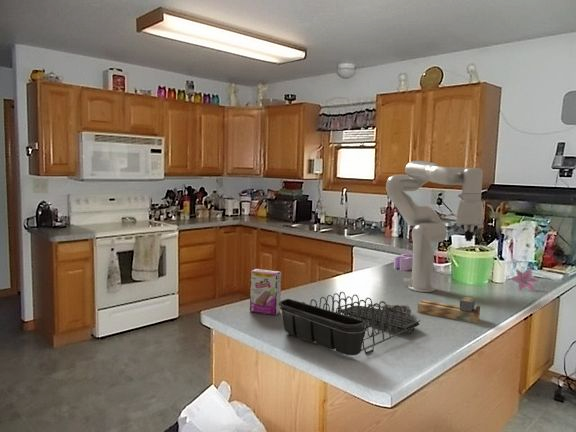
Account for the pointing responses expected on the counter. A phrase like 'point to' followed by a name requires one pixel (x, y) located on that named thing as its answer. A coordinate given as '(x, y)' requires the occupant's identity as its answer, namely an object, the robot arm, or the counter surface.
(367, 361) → the counter surface
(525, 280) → the lily
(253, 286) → the candy bar box
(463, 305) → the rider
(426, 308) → the rail
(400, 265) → the clip
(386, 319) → the dish rack
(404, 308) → the egg carton
